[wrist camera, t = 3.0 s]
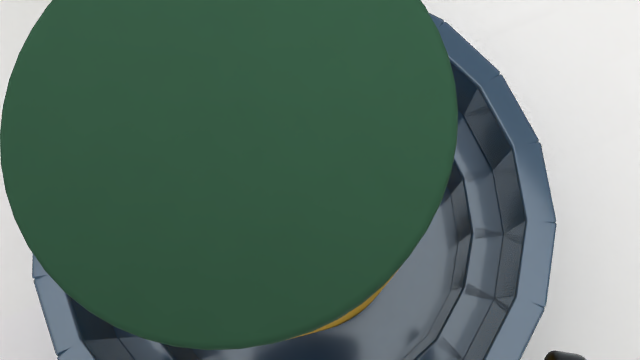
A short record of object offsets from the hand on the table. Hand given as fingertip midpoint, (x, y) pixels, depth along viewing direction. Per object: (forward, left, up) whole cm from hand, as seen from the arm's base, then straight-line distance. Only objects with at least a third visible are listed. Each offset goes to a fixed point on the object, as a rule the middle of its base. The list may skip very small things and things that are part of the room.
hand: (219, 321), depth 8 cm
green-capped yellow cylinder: (+3, -1, -9) cm, 10 cm away
